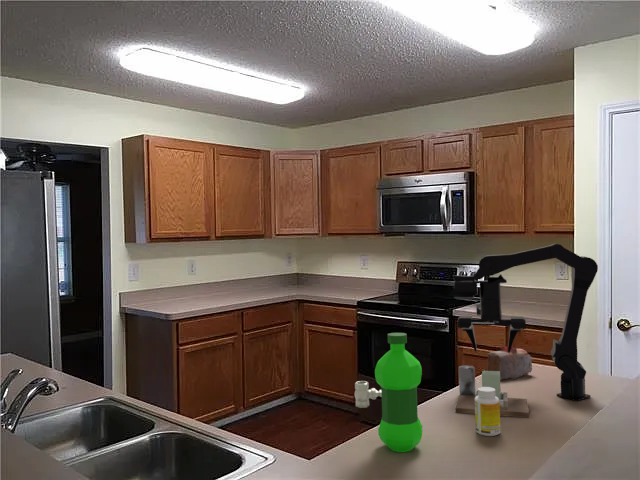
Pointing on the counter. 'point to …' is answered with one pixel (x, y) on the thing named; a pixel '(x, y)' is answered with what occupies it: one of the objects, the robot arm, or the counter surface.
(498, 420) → the supplement bottle
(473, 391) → the round peg
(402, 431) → the plastic bottle
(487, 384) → the square peg
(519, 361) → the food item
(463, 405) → the bore board
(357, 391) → the valve
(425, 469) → the counter surface
